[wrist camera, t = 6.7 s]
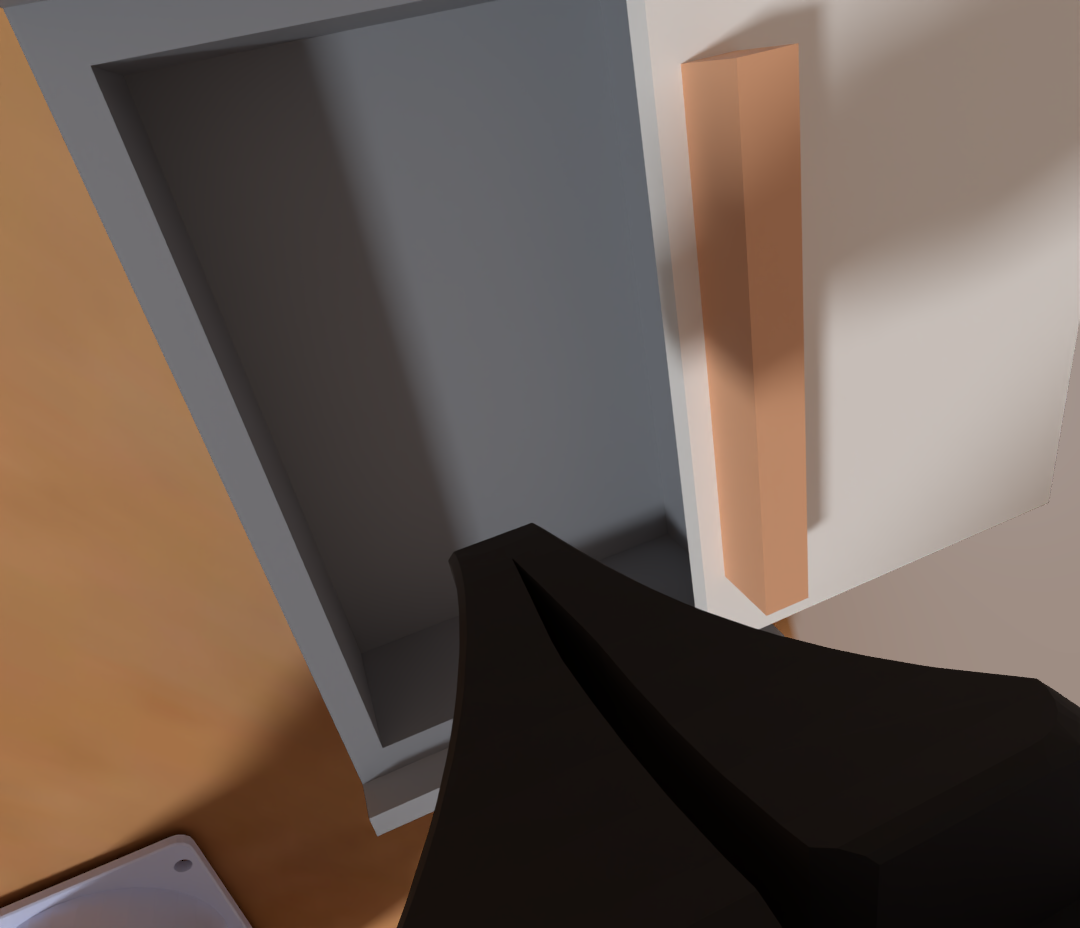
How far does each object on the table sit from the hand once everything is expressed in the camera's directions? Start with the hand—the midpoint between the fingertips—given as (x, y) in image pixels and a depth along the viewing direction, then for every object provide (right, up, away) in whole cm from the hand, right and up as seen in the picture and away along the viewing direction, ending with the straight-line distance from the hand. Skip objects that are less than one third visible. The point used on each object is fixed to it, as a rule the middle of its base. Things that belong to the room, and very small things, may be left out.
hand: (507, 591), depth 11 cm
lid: (+9, +6, +7) cm, 13 cm away
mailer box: (-2, +5, +9) cm, 10 cm away
